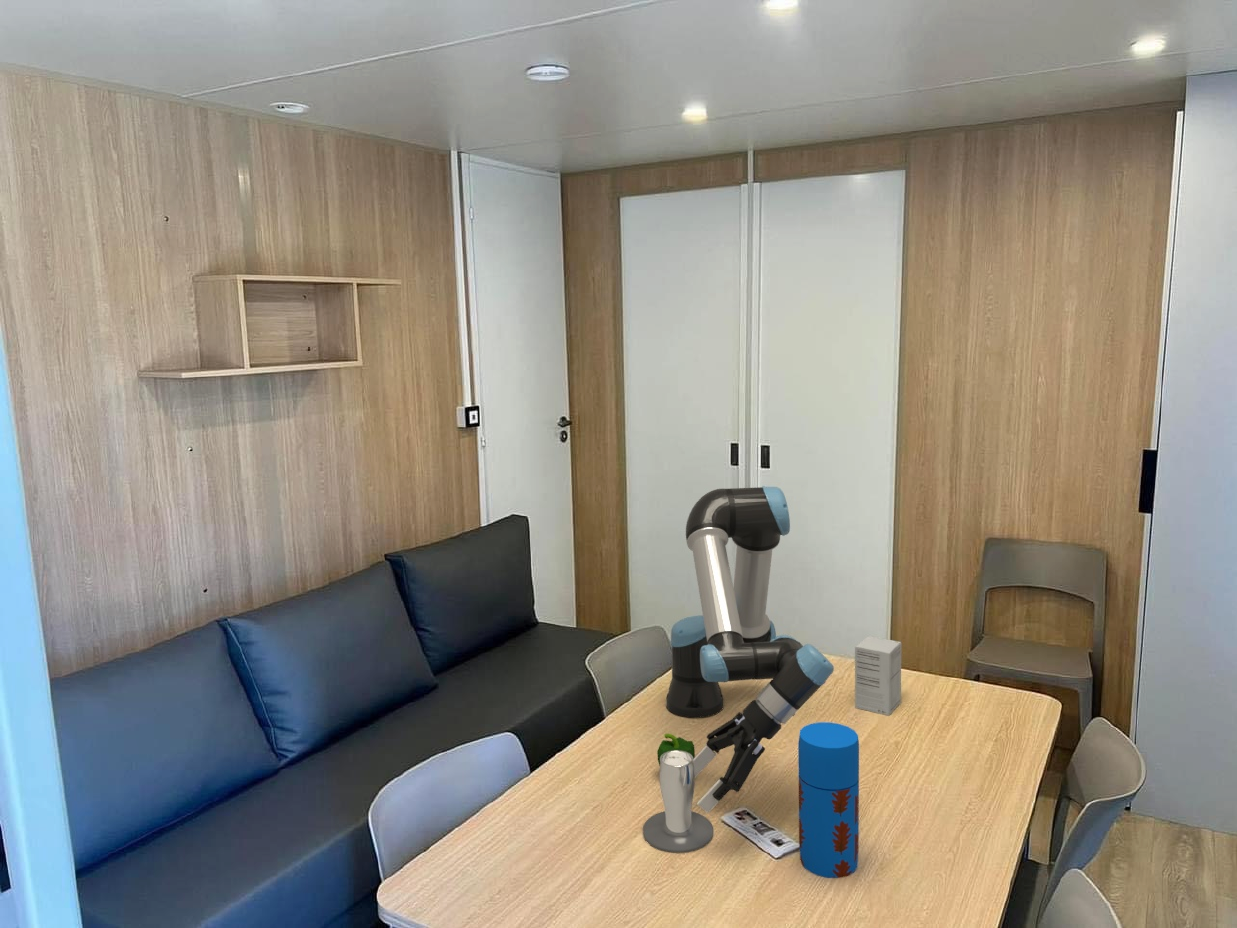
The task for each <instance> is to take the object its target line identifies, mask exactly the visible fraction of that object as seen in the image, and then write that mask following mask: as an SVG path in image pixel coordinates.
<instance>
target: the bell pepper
mask: <svg viewBox="0 0 1237 928" xmlns="http://www.w3.org/2000/svg"><path fill="white" fill-rule="evenodd" d="M664 738H665V739H666V740H664V739H662V740H661V743H660V744H659V747H658V749H657V753H656V754H657V762H658V766H659V767H660V757H661V755H662V754H664V753H666V752H668V751H674V750H679V751H685V752H688V753H690V754H691V755H692V756H693V759H694V758H695V757H696V755H695V745H694V742H693V741H692V740H686V739H684V738H683V737H680V736H679V737H676V736H675V735H674V734H672V733H665V734H664ZM667 739H671V740H667Z"/></svg>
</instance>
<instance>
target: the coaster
mask: <svg viewBox="0 0 1237 928" xmlns="http://www.w3.org/2000/svg"><path fill="white" fill-rule="evenodd" d="M691 813H692V820H693V825H694V830H693V832H692V833H691V834H689V835H687V836H684V837H674V836H670V835H668V834H667V833H665V831H664V829H663V825H664V820H665V810H664V811H661V812H657V813H655V814H653V815H652V816H649V818H647V820H645V822H644V823H643V825H642V835H643V839H644V838H645V839H644V840H645V842H646V841H647V842H648V843H649V844H650V846H651V847H652V846H653V847H652V848H654V849H656V850H659V851H662V852H665V853H673V854H685V853H691V852H695V851H698V850H700V849H703V848H705V847H706V846H707V845H708V844H710V843H711V841H712V839H713V838H714V826H713V824H712V822H711V821H710V819H708V817H706V816H704V815H703V814H701V813H699V812H695V811H692V810H691ZM647 842H646V843H647ZM648 843H647V844H648ZM649 844H648V845H649Z"/></svg>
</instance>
